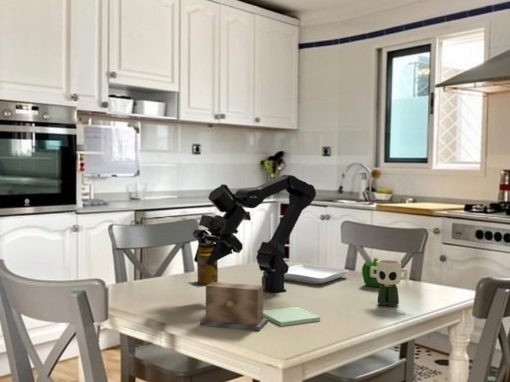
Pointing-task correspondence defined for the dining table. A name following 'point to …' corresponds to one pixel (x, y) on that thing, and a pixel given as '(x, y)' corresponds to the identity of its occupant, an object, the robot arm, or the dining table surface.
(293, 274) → the salad plate
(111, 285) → the dining table surface
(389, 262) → the character mug
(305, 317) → the sage pad
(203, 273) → the condiment
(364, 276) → the bell pepper
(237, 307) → the walnut unit
